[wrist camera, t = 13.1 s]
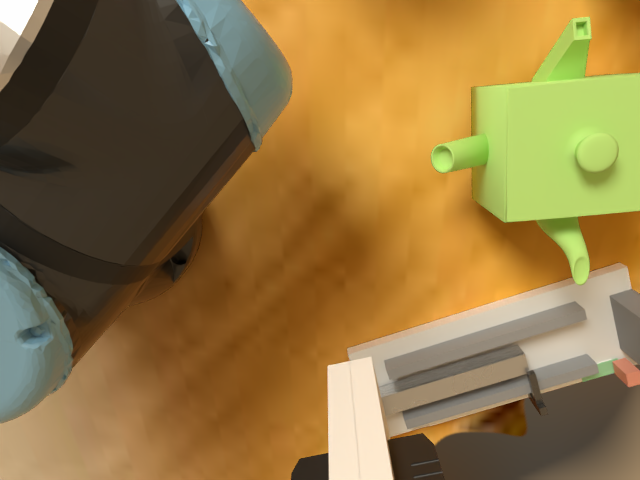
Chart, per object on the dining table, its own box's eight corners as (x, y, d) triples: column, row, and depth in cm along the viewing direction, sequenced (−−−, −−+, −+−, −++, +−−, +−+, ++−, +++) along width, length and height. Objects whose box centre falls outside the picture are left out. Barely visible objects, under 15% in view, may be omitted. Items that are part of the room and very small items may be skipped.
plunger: (378, 440, 50) (387, 496, 43) (353, 374, 48) (358, 422, 41) (534, 394, 48) (569, 445, 41) (515, 324, 46) (549, 365, 39)
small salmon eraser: (614, 374, 47) (628, 387, 45) (612, 361, 47) (625, 374, 45) (627, 370, 47) (642, 383, 45) (625, 357, 47) (639, 370, 45)
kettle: (655, 124, 42) (769, 138, 32) (535, 251, 46) (600, 303, 35) (527, 4, 40) (602, -25, 29) (408, 149, 43) (437, 170, 32)
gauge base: (378, 432, 51) (386, 477, 45) (347, 348, 48) (350, 384, 42) (638, 355, 49) (682, 392, 43) (619, 262, 46) (664, 288, 40)
